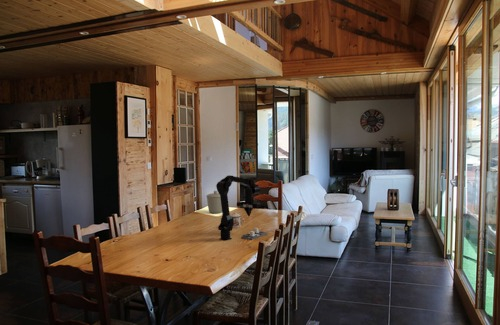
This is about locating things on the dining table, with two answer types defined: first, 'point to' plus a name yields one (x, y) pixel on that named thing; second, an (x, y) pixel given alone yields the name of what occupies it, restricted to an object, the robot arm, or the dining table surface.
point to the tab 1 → (252, 233)
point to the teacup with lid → (237, 220)
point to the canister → (214, 203)
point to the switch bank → (257, 235)
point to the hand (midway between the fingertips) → (249, 216)
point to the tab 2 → (256, 230)
